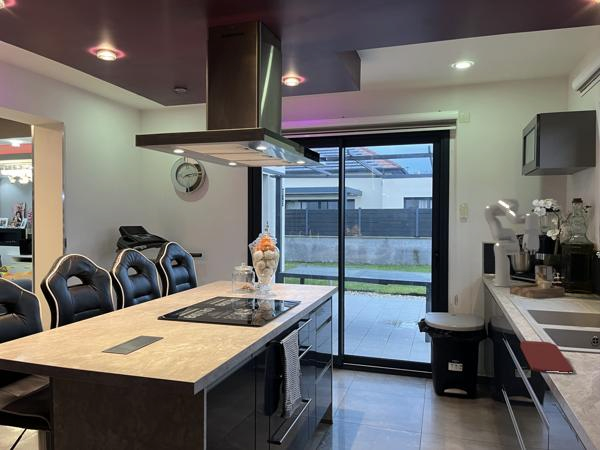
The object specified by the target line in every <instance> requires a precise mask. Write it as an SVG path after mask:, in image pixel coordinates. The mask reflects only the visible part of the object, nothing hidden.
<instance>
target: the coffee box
mask: <svg viewBox="0 0 600 450" xmlns="http://www.w3.org/2000/svg"><path fill="white" fill-rule="evenodd" d="M553 270H554V267H553V266H549V265H543V264H542V265H541V264H540V265H535V269H534V271H535V281H534V282H535V283H534V284H538V281H549V282H551V286H552V279H553V280H554V278H553V277H554V271H553Z"/></svg>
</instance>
